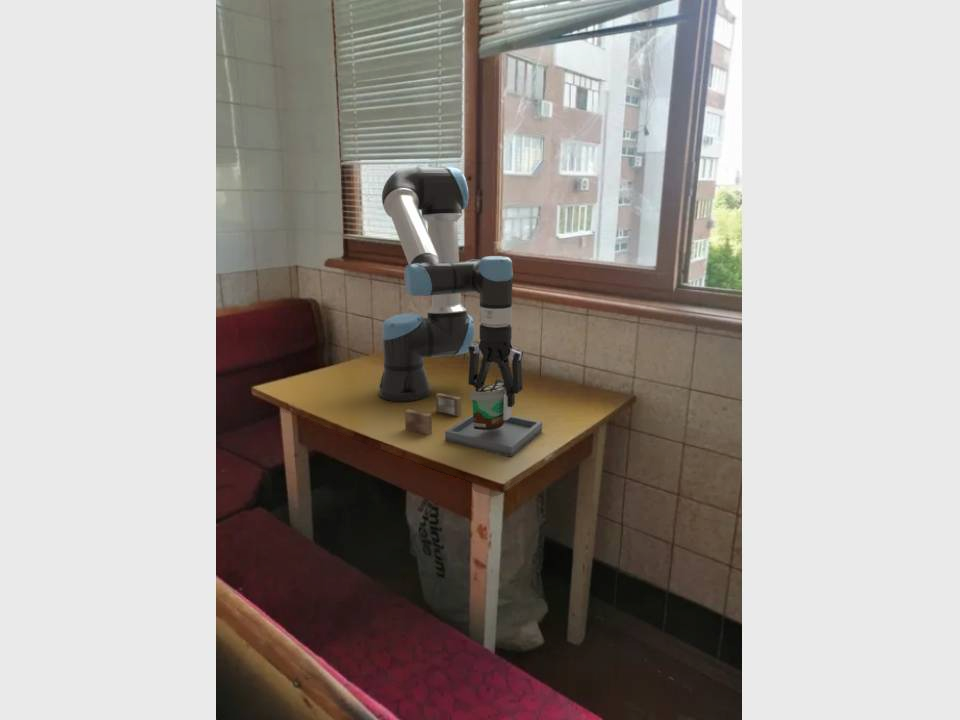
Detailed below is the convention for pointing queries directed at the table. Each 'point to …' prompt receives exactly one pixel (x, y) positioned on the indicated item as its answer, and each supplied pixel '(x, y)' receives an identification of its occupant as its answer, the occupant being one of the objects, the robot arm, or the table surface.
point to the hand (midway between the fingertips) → (494, 415)
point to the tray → (495, 435)
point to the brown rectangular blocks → (423, 420)
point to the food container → (489, 406)
